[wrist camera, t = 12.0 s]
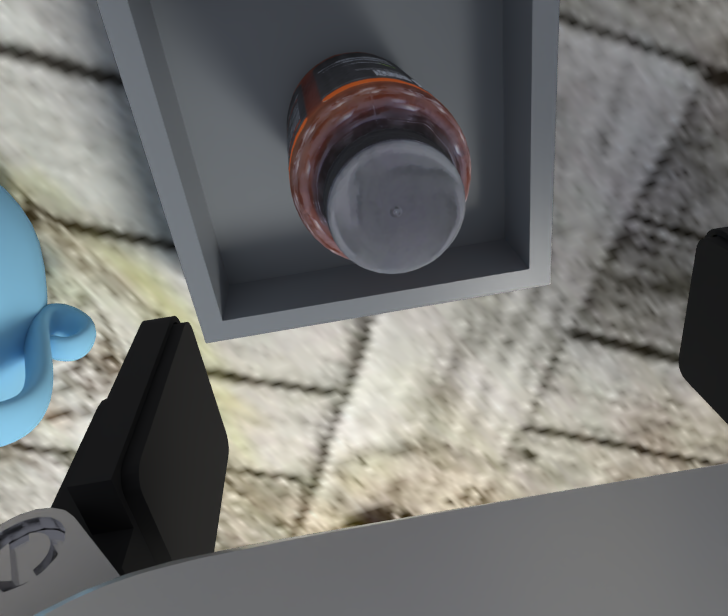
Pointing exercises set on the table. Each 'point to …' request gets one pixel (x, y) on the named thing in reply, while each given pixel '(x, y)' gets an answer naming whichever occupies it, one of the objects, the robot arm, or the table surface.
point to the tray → (269, 146)
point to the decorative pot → (30, 326)
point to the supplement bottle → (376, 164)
